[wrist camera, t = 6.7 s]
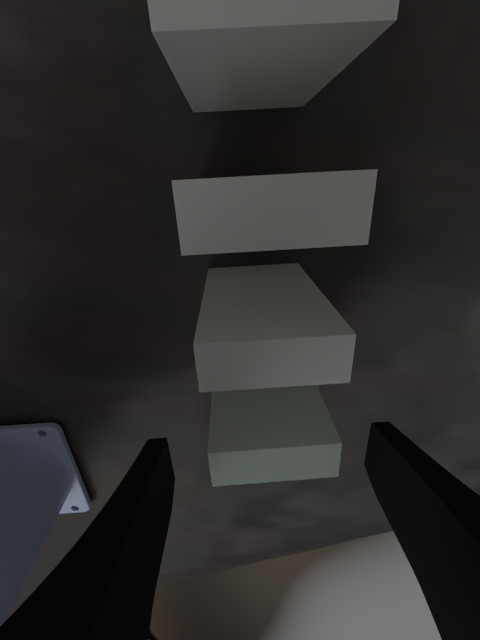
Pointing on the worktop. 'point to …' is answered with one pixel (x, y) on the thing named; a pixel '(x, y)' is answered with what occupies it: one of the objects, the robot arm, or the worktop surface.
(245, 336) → the domino
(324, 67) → the domino
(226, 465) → the domino
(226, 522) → the worktop surface
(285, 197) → the domino
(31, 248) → the worktop surface
